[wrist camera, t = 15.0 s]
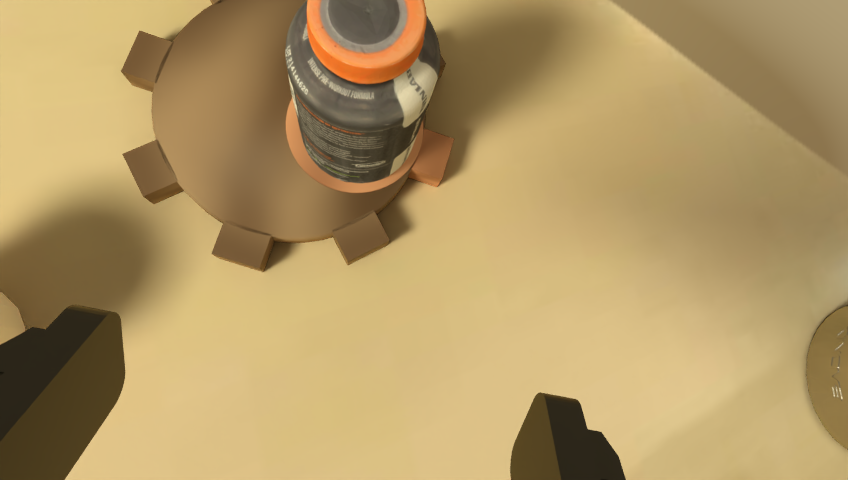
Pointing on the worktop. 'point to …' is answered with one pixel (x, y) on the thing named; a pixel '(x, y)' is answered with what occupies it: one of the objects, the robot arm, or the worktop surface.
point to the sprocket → (253, 139)
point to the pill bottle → (361, 82)
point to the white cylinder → (9, 320)
